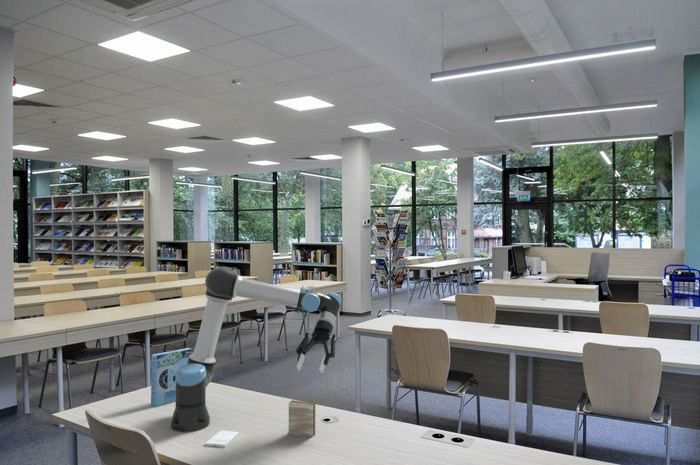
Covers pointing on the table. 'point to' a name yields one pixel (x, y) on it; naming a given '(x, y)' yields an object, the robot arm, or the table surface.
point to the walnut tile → (302, 418)
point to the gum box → (166, 375)
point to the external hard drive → (222, 439)
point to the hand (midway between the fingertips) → (309, 370)
